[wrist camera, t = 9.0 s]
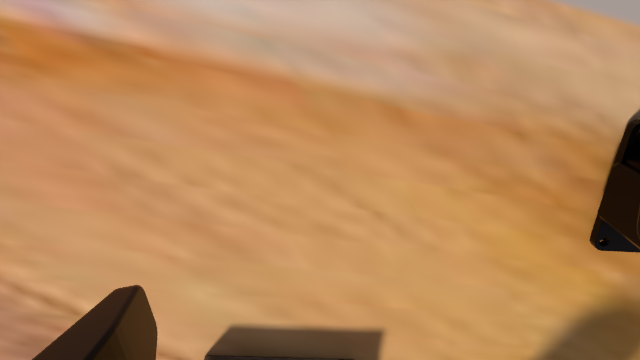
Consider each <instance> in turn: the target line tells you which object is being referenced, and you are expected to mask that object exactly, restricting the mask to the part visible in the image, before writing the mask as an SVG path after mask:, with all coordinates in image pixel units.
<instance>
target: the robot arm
mask: <svg viewBox="0 0 640 360" xmlns="http://www.w3.org/2000/svg"><path fill="white" fill-rule="evenodd" d="M638 129H640V120H635V121H633V122H631V123H630V124H629V125H628V126H627V128H626V130H625V133H624V136H623V139H622V142H621V145H620V148H619V151H618V154H617V157H616V160H615V163H614V166H613V168H612V171H611V174H610V177H609V180H608V183H607V186H606V189H605V192H604V195H603V198H602V201H601V204H600V207H599V210H598V215H597V218H596V221H595V224H594V227H593V230H592V233H591V236H590V242H591V244H592V245H593V246H594V247H595V248H597V249H598V250H601V251H621V252H640V134H638V135H636V132H637V131H638ZM603 237H605V239H604V240H603V241H601V242H600V240H601V239H602V238H603ZM156 348H157V326H156V322H155V319H154V316H153V313H152V311H151V308H150V305H149V302H148V299H147V297H146V294H145V291H144V290H143V288H142V287H141V286H139V285H134V286H129V287H123V288H118V289H116V290H114V291H113V292H112V293H110V294H109V295H108V296H107V297H106V298H104V299H103V300H102V301H101V302H100V303H99V304H97V305H96V306H95V307H94V308H93V309H91V310H90V311H89V312H88V313H87V314H85V315H84V316H83V317H82V318H81V319H80V320H78V321H77V322H76V323H75V324H74V325H72V326H71V327H70V328H69V329H68V330H67V331H65V332H64V333H63V334H62V335H61V336H59V337H58V338H57V339H56V340H55V341H53V342H52V343H51V344H50V345H49V346H48V347H46V348H45V349H44V350H43V351H42V352H40V353H39V354H38V355H37V356H36V357H35V358H33V359H32V360H156Z"/></svg>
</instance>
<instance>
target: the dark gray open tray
mask: <svg viewBox="0 0 640 360" xmlns="http://www.w3.org/2000/svg"><path fill="white" fill-rule="evenodd" d="M204 360H346V359H310V358H274V357H238V356H205V359H204Z"/></svg>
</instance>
